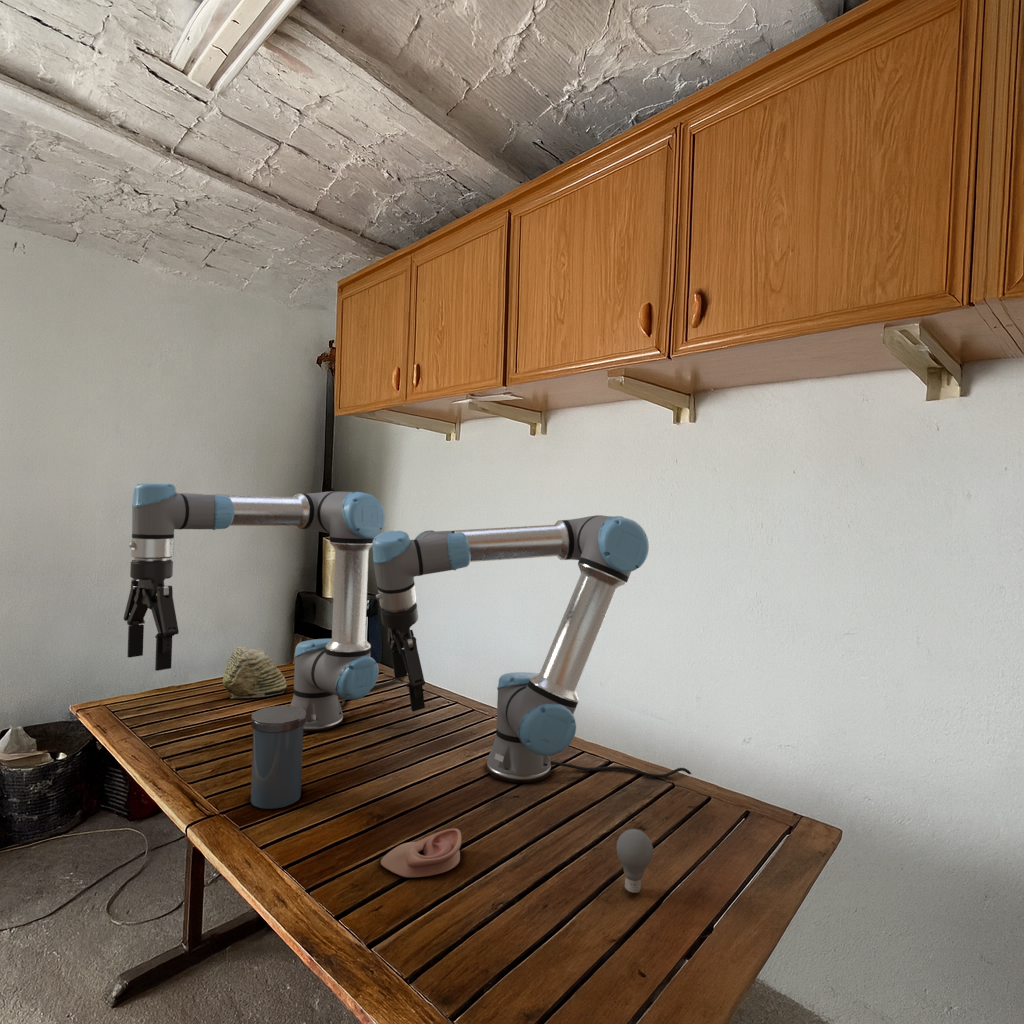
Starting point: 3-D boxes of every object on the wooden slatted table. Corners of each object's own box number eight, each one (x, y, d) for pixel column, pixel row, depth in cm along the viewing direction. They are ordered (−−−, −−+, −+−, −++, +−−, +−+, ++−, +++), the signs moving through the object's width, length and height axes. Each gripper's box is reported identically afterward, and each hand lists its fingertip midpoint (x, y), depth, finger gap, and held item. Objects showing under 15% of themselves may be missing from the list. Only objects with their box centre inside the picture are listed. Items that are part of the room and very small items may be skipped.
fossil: (218, 695, 195) (220, 647, 195) (278, 685, 208) (279, 640, 207) (228, 703, 189) (230, 653, 188) (289, 692, 201) (290, 645, 201)
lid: (313, 715, 137) (313, 707, 137) (293, 734, 127) (294, 724, 127) (264, 713, 138) (265, 704, 138) (241, 730, 127) (241, 721, 127)
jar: (308, 788, 137) (311, 709, 137) (289, 810, 127) (293, 725, 127) (263, 785, 138) (266, 707, 138) (241, 807, 128) (244, 722, 128)
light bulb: (610, 879, 108) (613, 822, 108) (644, 879, 109) (647, 822, 109) (619, 902, 102) (622, 840, 102) (655, 901, 103) (658, 840, 103)
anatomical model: (374, 849, 108) (399, 816, 119) (373, 872, 108) (398, 837, 119) (448, 861, 105) (467, 826, 116) (447, 885, 105) (466, 848, 116)
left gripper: (108, 554, 134) (104, 654, 134) (159, 565, 118) (155, 678, 119) (146, 552, 140) (143, 648, 140) (199, 563, 124) (195, 671, 124)
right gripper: (367, 586, 141) (378, 668, 147) (396, 636, 119) (408, 730, 126) (400, 578, 143) (410, 660, 150) (434, 626, 122) (444, 718, 129)
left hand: (148, 662), depth 129 cm, fingers open, 13 cm apart
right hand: (409, 692), depth 138 cm, fingers open, 13 cm apart
